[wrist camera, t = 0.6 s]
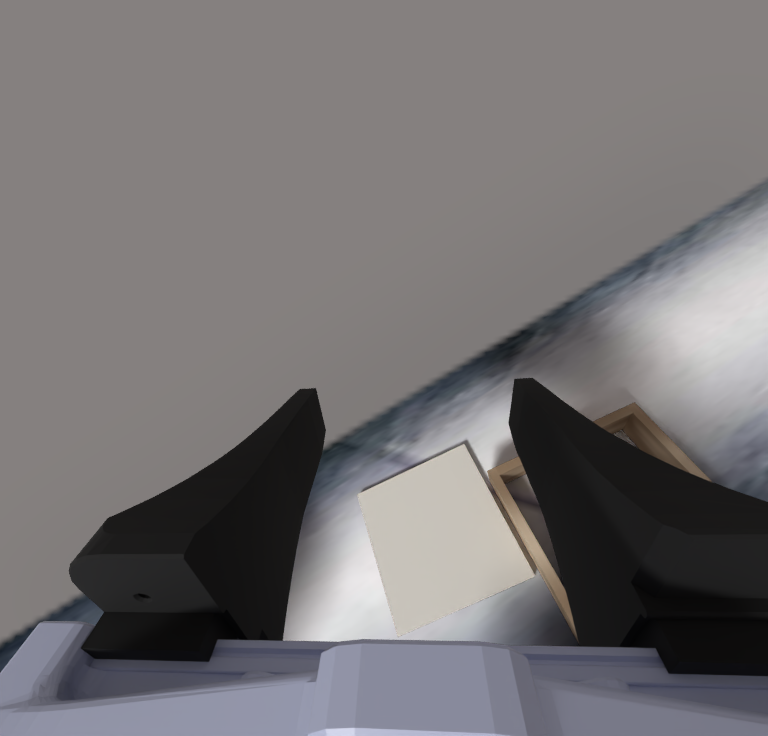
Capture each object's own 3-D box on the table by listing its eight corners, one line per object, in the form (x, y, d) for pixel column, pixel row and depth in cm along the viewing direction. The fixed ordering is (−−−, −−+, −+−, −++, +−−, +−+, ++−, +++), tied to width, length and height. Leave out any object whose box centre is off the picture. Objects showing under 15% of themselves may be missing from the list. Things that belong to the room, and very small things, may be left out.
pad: (535, 576, 23) (535, 576, 22) (400, 636, 23) (397, 637, 23) (465, 446, 29) (464, 443, 28) (359, 496, 29) (357, 494, 29)
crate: (906, 728, 15) (977, 754, 13) (674, 818, 16) (702, 858, 14) (623, 419, 26) (634, 402, 23) (489, 481, 27) (487, 470, 24)
